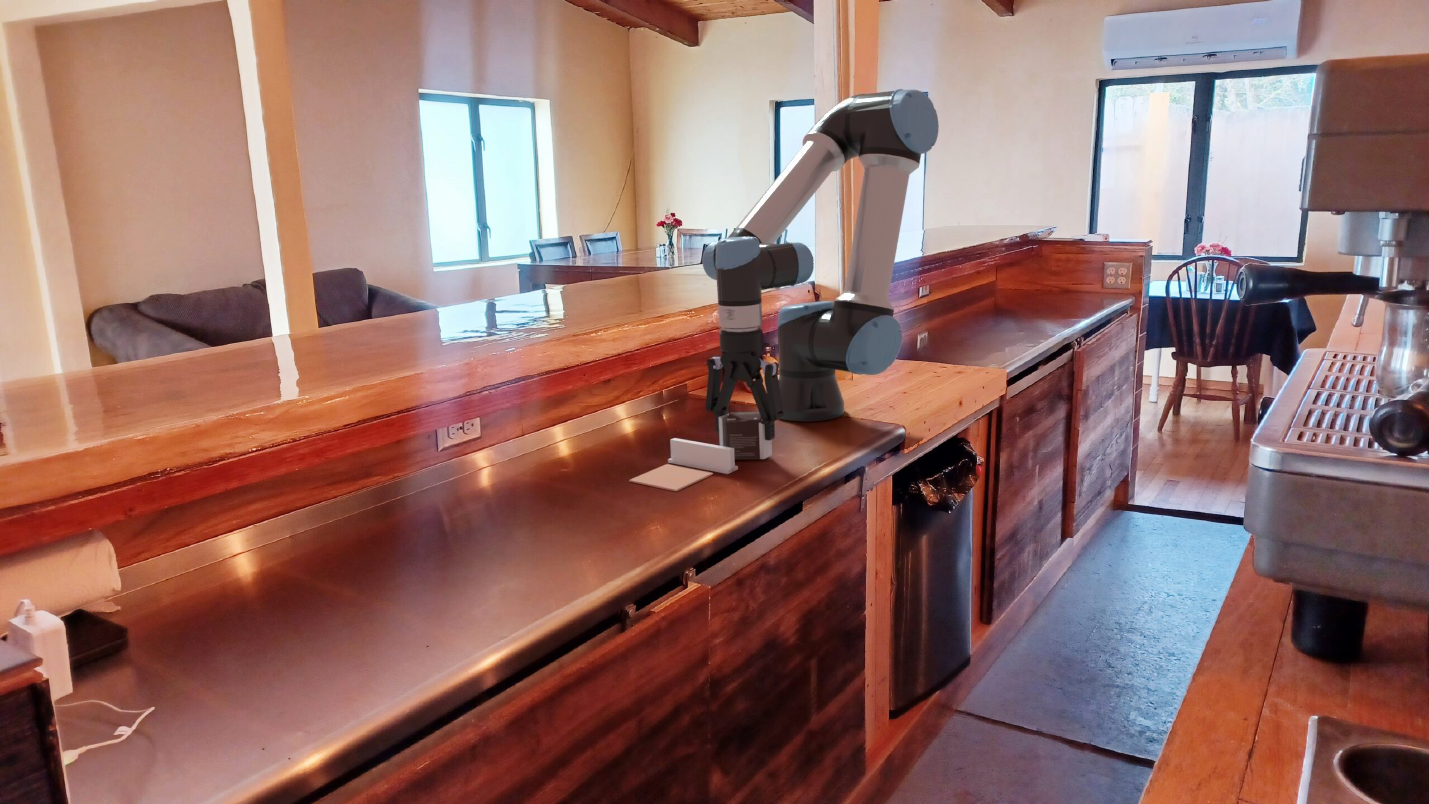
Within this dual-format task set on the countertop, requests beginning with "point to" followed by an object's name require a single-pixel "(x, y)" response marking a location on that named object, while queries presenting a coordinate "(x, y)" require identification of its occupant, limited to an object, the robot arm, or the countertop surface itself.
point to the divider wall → (702, 456)
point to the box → (744, 434)
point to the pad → (671, 477)
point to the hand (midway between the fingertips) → (745, 453)
